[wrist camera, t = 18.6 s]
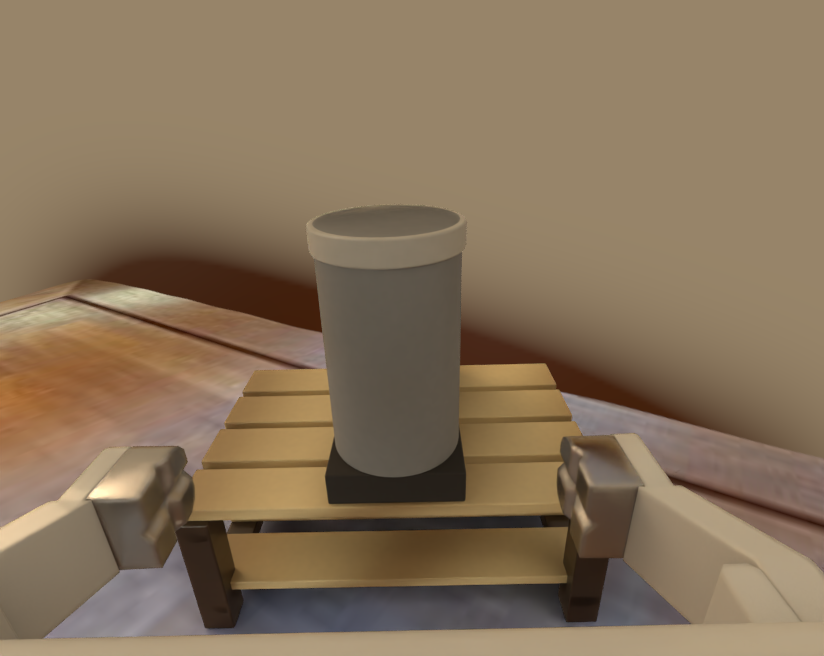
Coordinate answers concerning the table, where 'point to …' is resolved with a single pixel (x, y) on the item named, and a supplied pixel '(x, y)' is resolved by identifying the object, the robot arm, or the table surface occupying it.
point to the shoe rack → (384, 550)
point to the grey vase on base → (392, 351)
